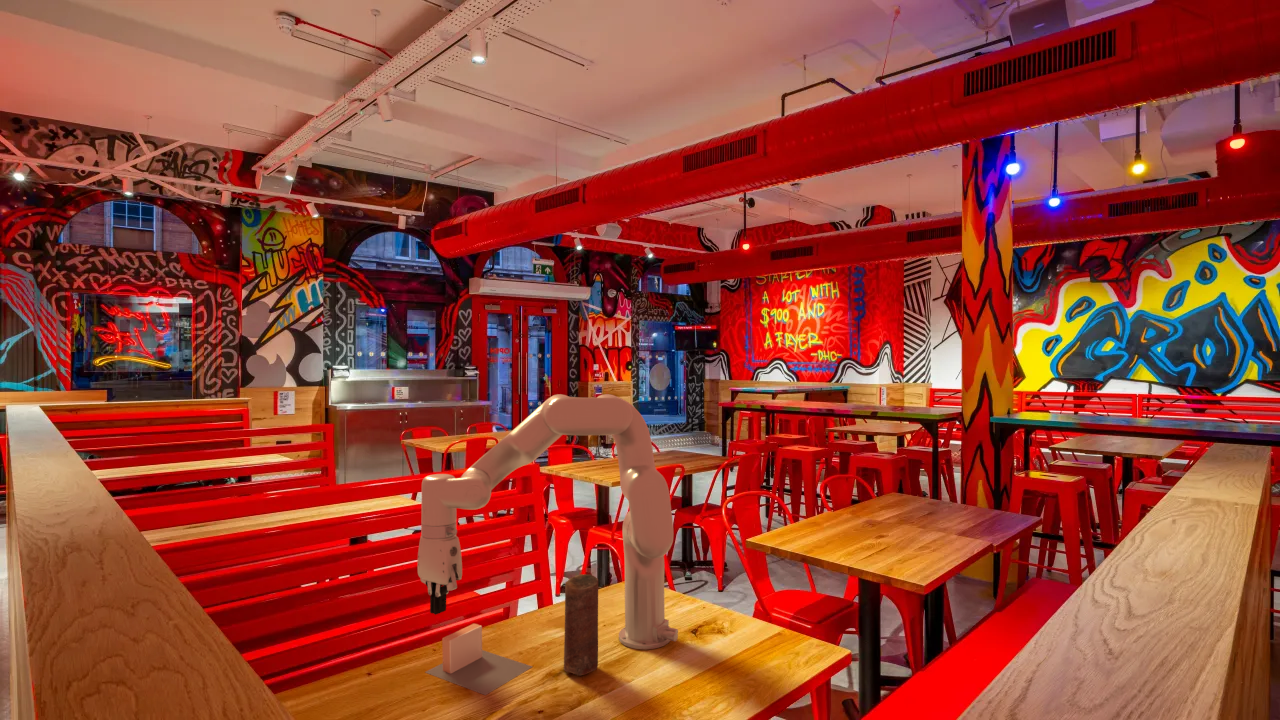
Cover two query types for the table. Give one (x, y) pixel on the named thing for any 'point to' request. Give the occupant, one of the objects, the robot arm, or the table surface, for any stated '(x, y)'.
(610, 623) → the table surface
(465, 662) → the tile
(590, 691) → the table surface
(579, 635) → the brown weathered post
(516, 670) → the board
